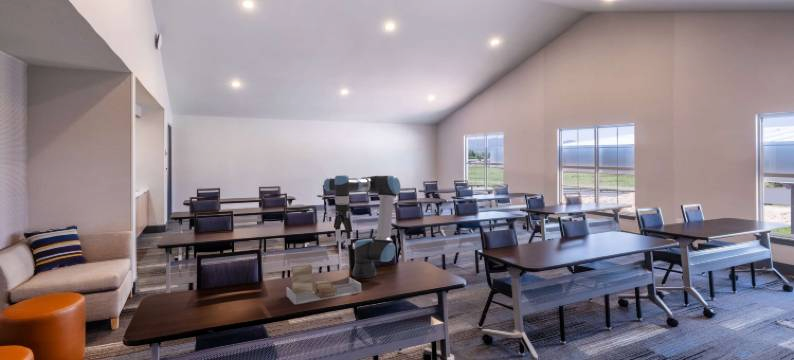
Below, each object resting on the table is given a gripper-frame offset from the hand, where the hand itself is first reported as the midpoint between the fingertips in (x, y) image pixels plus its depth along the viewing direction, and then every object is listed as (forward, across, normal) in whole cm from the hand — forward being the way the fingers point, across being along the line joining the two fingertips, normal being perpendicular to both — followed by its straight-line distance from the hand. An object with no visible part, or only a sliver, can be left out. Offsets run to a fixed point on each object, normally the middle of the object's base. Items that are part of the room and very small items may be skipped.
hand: (343, 242), depth 234 cm
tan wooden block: (+28, -6, -21) cm, 36 cm away
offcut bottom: (+28, -6, -9) cm, 30 cm away
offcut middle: (+26, -5, -9) cm, 28 cm away
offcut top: (+24, -6, -10) cm, 27 cm away
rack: (+29, -6, -9) cm, 31 cm away
